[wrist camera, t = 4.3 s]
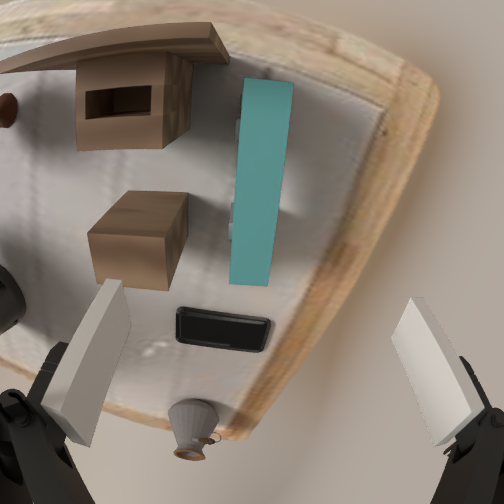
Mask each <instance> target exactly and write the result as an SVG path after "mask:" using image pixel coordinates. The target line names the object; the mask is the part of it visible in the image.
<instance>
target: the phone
mask: <svg viewBox="0 0 504 504" xmlns="http://www.w3.org/2000/svg"><path fill="white" fill-rule="evenodd" d="M270 327H271V324H270V320H269V319H267V318H263V317H255V316H247V315H239V314H231V313H224V312H216V311H209V310H203V309H196V308H189V307H179V308H178V309H177V312H176V340H177V341H178V342H180V343H185V344H191V345H198V346H205V347H212V348H220V349H228V350H236V351H245V352H254V353H258V352H261V351H263V349H264V346H265V343H266V340H267V337H268V333H269V330H270Z"/></svg>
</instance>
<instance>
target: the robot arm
mask: <svg viewBox="0 0 504 504" xmlns="http://www.w3.org/2000/svg"><path fill="white" fill-rule="evenodd" d="M25 310H26V306H25V301H24V298H23V295H22V293H21V291H20V289H19V287H18V285H17V284H16V282H15V281H14V279H13V278H12V277H11V276H10V274H9V273H8V272H7V271H6V270H5V269H4V268H3V267H1V266H0V335H1V334H3V333H4V332H6V331H7V330H9V329H10V328H12V327H13V326H14V325H16V324H17V323H19V321H20V320H21V319H22V317H23V316H24V314H25ZM130 329H131V321H130V317H129V312H128V308H127V303H126V298H125V293H124V288H123V283H122V280H116V279H106V280H105V282H104V283H103V285H102V287H101V288H100V290H99V292H98V293H97V295H96V297H95V298H94V300H93V302H92V304H91V305H90V307H89V309H88V311H87V312H86V314H85V316H84V318H83V319H82V321H81V323H80V325H79V327H78V329H77V330H76V332H75V334H74V336H73V338H72V340H71V342H70V344H68V343H63V342H59V343H58V344H56V345H55V346H54V347H53V348H52V349H51V350H50V352H49V354H48V355H47V357H46V359H45V362H44V363H43V365H42V367H41V371H39V373H38V375H37V377H36V379H35V381H34V383H33V385H32V387H31V389H30V391H29V393H28V395H27V397H25V395H24V394H23V393H22V392H20V391H19V390H16V389H8V390H6V391H4V392H2V393H1V394H0V504H33V503H34V504H95V502H94V500H93V499H92V497H91V495H90V493H89V492H88V490H87V488H86V486H85V484H84V482H83V480H82V478H81V476H80V474H79V472H78V470H77V468H76V466H75V464H74V462H73V459H72V457H71V455H70V453H69V450H68V448H67V446H66V444H65V443H64V441H65V438H66V435H67V437H68V438H69V439H70V440H71V441H72V442H74V443H78V444H81V445H84V446H87V447H90V445H91V442H92V438H93V435H94V432H95V428H96V425H97V422H98V419H99V415H100V412H101V409H102V406H103V403H104V400H105V397H106V394H107V391H108V388H109V385H110V382H111V380H112V377H113V374H114V371H115V368H116V366H117V363H118V360H119V357H120V355H121V352H122V349H123V347H124V344H125V342H126V339H127V336H128V334H129V331H130ZM391 339H392V342H393V344H394V346H395V348H396V351H397V353H398V355H399V358H400V360H401V362H402V365H403V367H404V370H405V372H406V374H407V377H408V379H409V382H410V384H411V387H412V389H413V392H414V394H415V397H416V400H417V402H418V405H419V408H420V410H421V413H422V416H423V418H424V421H425V424H426V427H427V430H428V433H429V435H430V438H431V441H432V444H433V447H436V446H439V445H443V444H445V443H447V442H449V441H450V440H451V439H452V438H453V437H454V436H455V438H456V442H454V443H453V444H452V445H451V446H450V447H448V448H447V449H446V450H445V451H444V453H443V454H444V455H445V454H446V453H447V452H449V451H450V450H451V452H450V454H448V455H447V456H448V457H449V458H448V461H447V463H446V466H445V469H444V472H443V474H442V477H441V480H440V482H439V484H438V487H437V489H436V492H435V494H434V496H433V498H432V501H431V503H430V504H504V412H503V411H502V410H501V409H499V408H492V406H491V405H490V403H489V400H488V398H487V396H486V394H485V392H484V390H483V388H482V386H481V384H480V382H478V379H477V377H476V375H474V371H473V369H472V368H471V366H470V364H469V363H468V362H467V361H466V360H465V359H464V358H463V357H462V356H458V355H457V353H456V351H455V349H454V347H453V346H452V344H451V342H450V340H449V339H448V337H447V335H446V334H445V332H444V330H443V329H442V327H441V325H440V324H439V322H438V320H437V319H436V317H435V315H434V314H433V312H432V311H431V309H430V308H429V306H428V305H427V303H426V301H425V300H424V298H423V297H411V298H410V300H409V303H408V304H407V307H406V309H405V311H404V313H403V315H402V317H401V320H400V322H399V323H398V326H397V328H396V330H395V332H394V334H393V335H392V337H391ZM32 500H33V501H32Z"/></svg>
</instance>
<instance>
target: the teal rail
mask: <svg viewBox="0 0 504 504" xmlns="http://www.w3.org/2000/svg"><path fill="white" fill-rule="evenodd" d="M293 87H294V83H290V82H282V81H274V80H264V79H253V78H244V87H243V94H241V98H240V105H242V110H241V122H240V134H239V146H238V159H237V172H236V186H235V200H234V215H233V230H232V246H231V262H230V280H229V284H237V285H252V286H268V281H269V274H270V267H271V260H272V253H273V246H274V239H275V232H276V224H277V217H278V209H279V202H280V194H281V187H282V179H283V171H284V163H285V155H286V147H287V138H288V130H289V122H290V113H291V104H292V96H293Z"/></svg>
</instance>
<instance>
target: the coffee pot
mask: <svg viewBox="0 0 504 504" xmlns="http://www.w3.org/2000/svg"><path fill="white" fill-rule="evenodd" d="M168 416H169V419H170V422H171V425H172V429H173V432H174V435H175V438H176V441H177V444H178V447H177V450H175V451H174V454H175V456H177V457H179V458H182V459H185V460H192V461H198V460H204V459H205V456H204V454H203V452H202V448H203V447H204V445H205V444H209V445H211V444H214V443H215V441H214V440H213V439H211V438H209V437H210V435H211V434H212V433H216V432H213V430H214V429H215V427H216V425H217V424H218V422H219V416H218V414H217V412H216V411H215V410H214V409H213V408H212V407H211V406H210V405H209V404H208V403H206V402H204V401H201V400H197V399H184V400H181V401H180V402H177V403H175V404H173V405H172V406H171V408H170V409H169V411H168ZM217 434H218V433H217ZM219 435H220V434H219ZM220 438H221V436H220ZM220 440H221V439H220ZM218 442H219V441H218Z"/></svg>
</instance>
